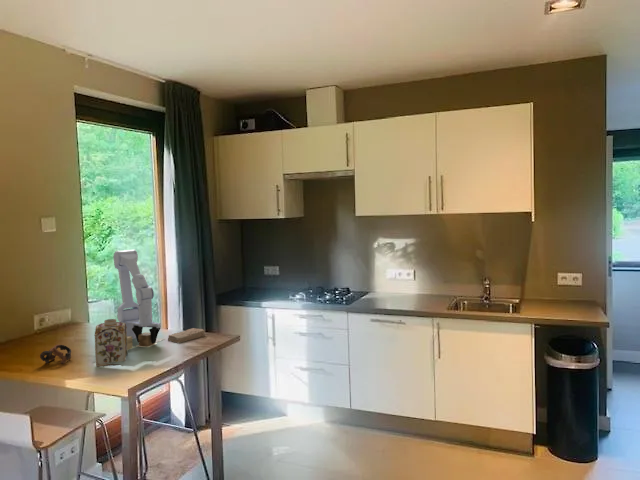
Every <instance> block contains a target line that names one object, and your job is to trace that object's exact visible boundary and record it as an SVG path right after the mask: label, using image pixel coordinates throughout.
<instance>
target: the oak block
mask: <svg viewBox="0 0 640 480" xmlns="http://www.w3.org/2000/svg"><path fill="white" fill-rule="evenodd" d="M132 347H134V346H133V339H132V336H127V350H128V349H130V348H132ZM130 350H131V349H130ZM128 351H129V350H128Z"/></svg>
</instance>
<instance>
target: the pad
mask: <svg viewBox="0 0 640 480" xmlns="http://www.w3.org/2000/svg"><path fill="white" fill-rule="evenodd" d="M162 341H165V338H164V337H163V338H160V337H157V338H156V343H157V344H158V343H159V342H162Z"/></svg>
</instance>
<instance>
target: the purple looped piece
mask: <svg viewBox="0 0 640 480" xmlns="http://www.w3.org/2000/svg"><path fill="white" fill-rule="evenodd" d="M59 348H60V351H59V350H58V349H59ZM61 351H66V352H67V353H64V352H61ZM71 354H72V349H71V348H70V347H69V346H67V345H64V344H55V345H54V346H53V347H52V348H50V349H49V350H44V351H42V352H41V353H40V355H39V357H40V359H41V361H43V362H45V364H49V363H50V361H55V359H56V357H58V358H61V361H60V364H62V365H64V364H65V363H66V362H67V361H69V360H70V359H71V358H72V356H71Z"/></svg>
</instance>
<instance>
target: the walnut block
mask: <svg viewBox="0 0 640 480" xmlns="http://www.w3.org/2000/svg"><path fill="white" fill-rule="evenodd" d="M138 339H139V343H138V345H139V346H150V345H153V344H152V342H151V334H150V332H147V331H146V332H142V334H140V335H138ZM154 344H155V343H154ZM155 345H156V344H155ZM153 346H154V345H153Z"/></svg>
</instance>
